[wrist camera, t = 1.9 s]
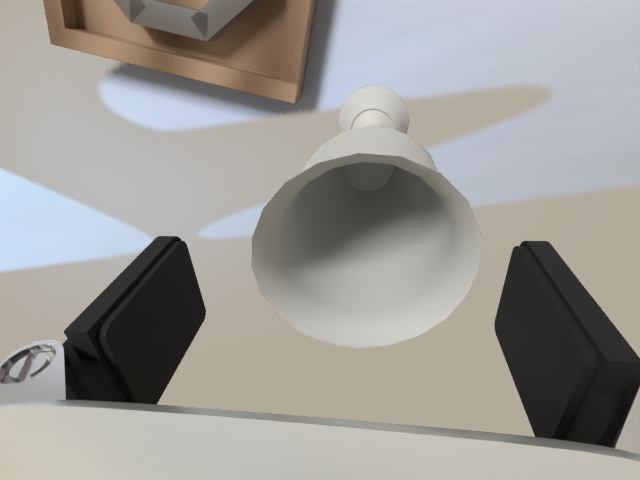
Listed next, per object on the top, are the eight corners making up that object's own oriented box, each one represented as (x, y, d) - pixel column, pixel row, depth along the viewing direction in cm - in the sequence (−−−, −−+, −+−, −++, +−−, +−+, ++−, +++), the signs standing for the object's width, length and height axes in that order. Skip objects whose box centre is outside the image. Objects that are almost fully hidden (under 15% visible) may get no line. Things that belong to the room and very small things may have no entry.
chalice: (381, 186, 29) (379, 375, 14) (308, 138, 28) (217, 287, 13) (445, 104, 25) (539, 240, 10) (363, 46, 24) (328, 97, 9)
